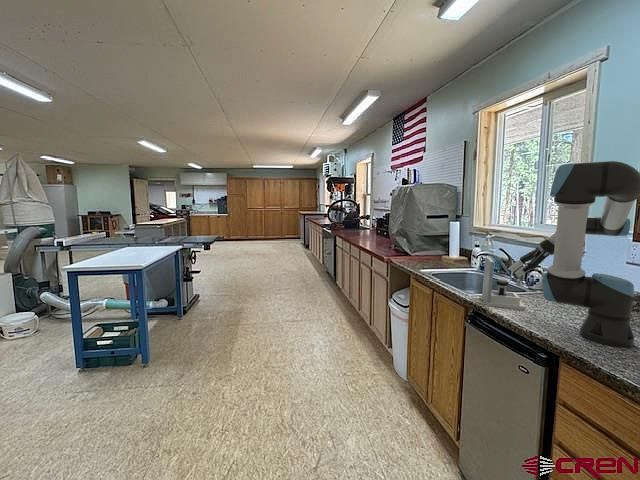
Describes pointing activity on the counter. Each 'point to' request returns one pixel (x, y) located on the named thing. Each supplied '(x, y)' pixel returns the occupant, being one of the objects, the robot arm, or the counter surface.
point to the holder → (490, 295)
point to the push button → (502, 287)
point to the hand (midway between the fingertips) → (513, 272)
